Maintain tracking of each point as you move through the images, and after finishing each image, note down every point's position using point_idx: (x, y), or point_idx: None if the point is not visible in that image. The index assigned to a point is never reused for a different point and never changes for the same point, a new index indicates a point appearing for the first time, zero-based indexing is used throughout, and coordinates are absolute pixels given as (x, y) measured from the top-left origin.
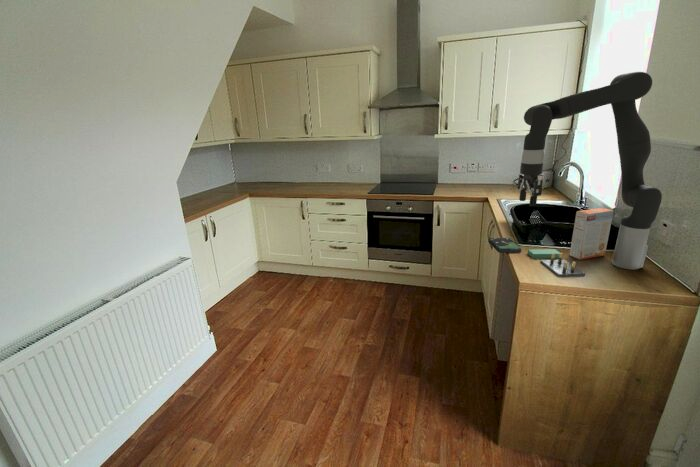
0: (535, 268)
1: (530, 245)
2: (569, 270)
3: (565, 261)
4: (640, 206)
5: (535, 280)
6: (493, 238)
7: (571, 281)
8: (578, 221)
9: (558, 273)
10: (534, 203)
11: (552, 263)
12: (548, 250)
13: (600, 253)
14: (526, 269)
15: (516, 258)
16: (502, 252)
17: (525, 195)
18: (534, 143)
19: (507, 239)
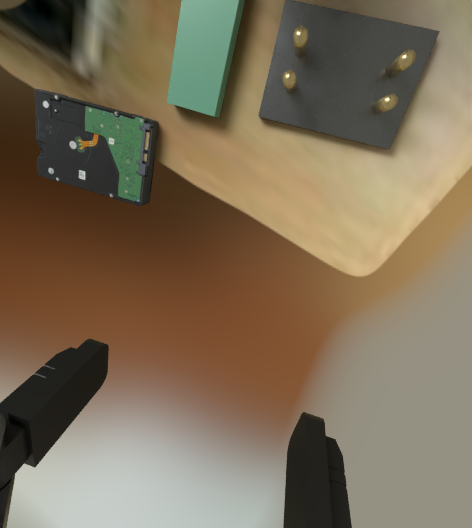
0: (298, 177)
1: (95, 21)
2: (382, 76)
3: (304, 13)
4: None
5: (372, 244)
6: (41, 159)
7: (439, 133)
8: None
9: (382, 144)
10: (332, 465)
11: (300, 93)
12: (194, 12)
13: None
14: (294, 212)
15: (205, 179)
16: (149, 192)
17: (68, 388)
18: None
19: (51, 106)
